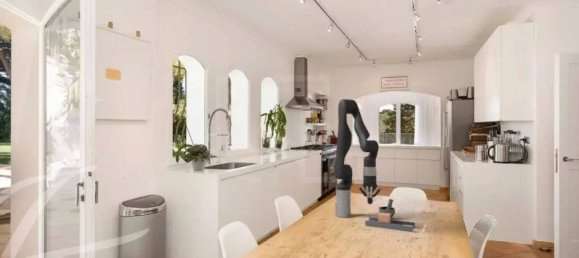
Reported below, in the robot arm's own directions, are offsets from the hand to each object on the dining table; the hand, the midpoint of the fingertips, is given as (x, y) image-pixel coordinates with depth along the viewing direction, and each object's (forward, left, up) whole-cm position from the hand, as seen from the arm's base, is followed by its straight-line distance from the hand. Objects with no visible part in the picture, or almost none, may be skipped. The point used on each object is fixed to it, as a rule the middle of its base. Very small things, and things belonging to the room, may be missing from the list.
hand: (370, 203), depth 201 cm
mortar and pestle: (+6, +19, -13) cm, 24 cm away
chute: (+11, 0, -13) cm, 17 cm away
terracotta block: (+8, 0, -12) cm, 14 cm away
